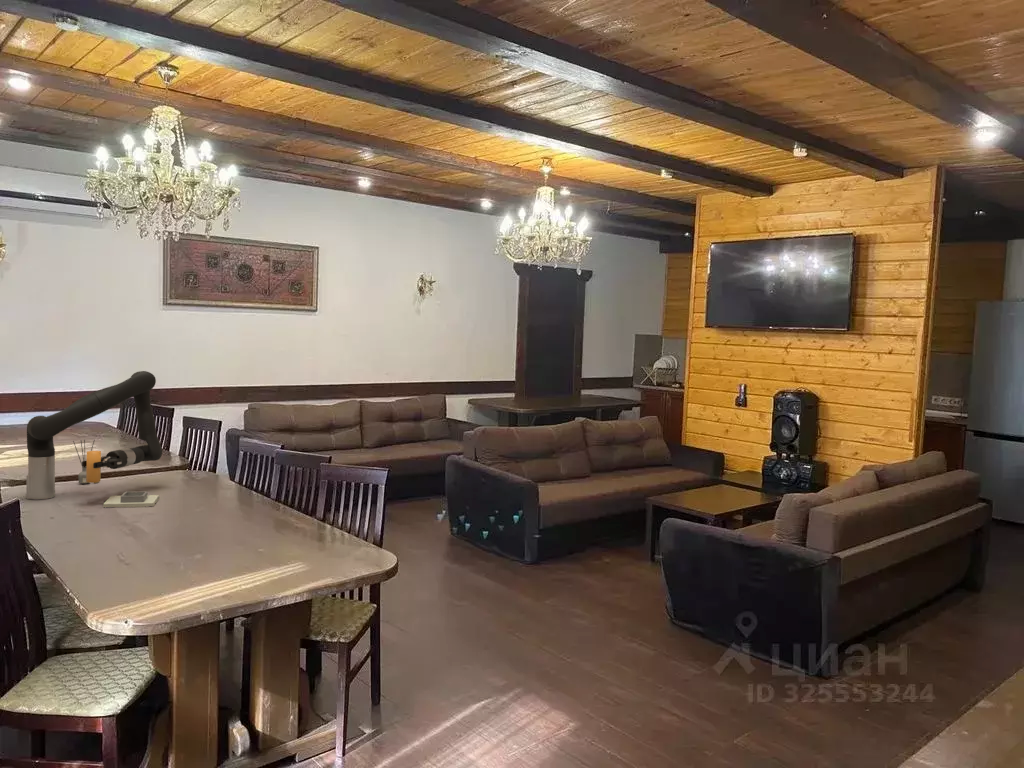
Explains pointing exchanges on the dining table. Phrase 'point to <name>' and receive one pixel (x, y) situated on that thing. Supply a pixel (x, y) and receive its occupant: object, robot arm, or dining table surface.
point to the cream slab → (132, 500)
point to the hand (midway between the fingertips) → (88, 464)
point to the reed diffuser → (83, 474)
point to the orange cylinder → (91, 472)
